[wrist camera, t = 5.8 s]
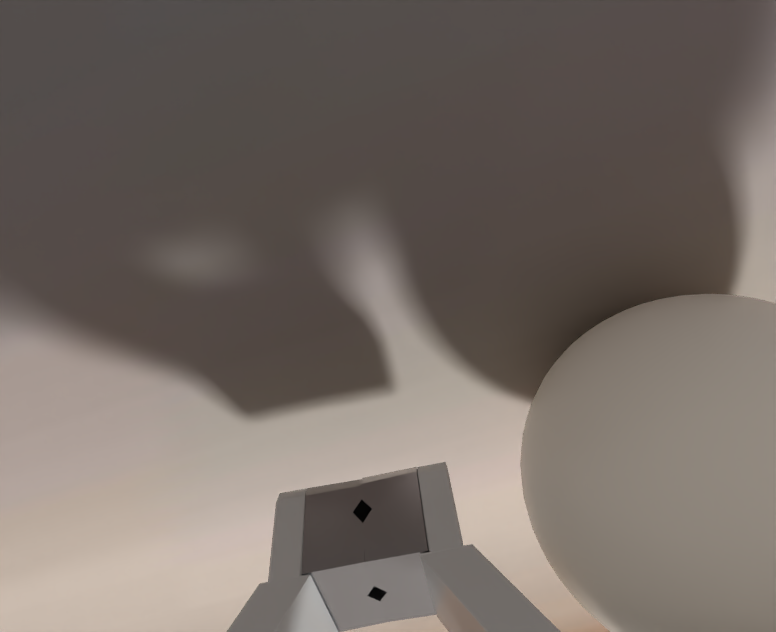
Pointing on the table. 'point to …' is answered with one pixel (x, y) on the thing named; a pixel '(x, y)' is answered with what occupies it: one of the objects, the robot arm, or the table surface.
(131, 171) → the table surface
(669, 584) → the cue ball
